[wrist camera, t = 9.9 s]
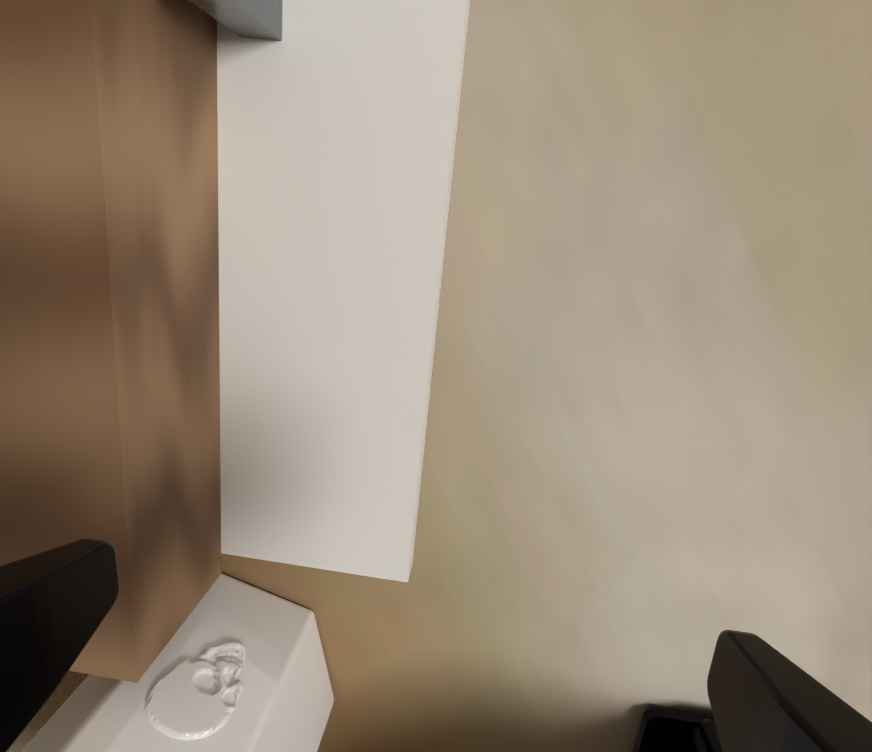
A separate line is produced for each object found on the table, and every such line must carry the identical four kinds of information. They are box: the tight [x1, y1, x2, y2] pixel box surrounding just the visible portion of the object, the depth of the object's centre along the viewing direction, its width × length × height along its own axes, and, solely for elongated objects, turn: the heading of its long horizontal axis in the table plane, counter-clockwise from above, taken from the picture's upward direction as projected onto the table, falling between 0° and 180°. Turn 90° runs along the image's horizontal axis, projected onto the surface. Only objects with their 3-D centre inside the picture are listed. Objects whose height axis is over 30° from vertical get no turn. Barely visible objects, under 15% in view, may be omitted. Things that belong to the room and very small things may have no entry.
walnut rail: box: [0, 0, 221, 683], centre depth 15 cm, size 22×4×5 cm, turn 174°
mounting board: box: [217, 0, 470, 582], centre depth 17 cm, size 23×18×1 cm
